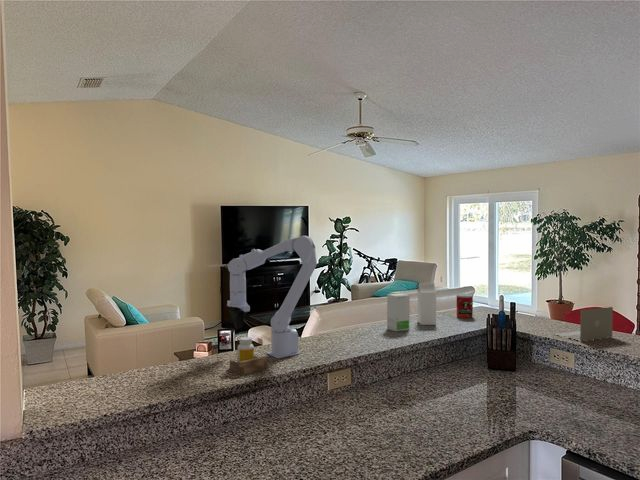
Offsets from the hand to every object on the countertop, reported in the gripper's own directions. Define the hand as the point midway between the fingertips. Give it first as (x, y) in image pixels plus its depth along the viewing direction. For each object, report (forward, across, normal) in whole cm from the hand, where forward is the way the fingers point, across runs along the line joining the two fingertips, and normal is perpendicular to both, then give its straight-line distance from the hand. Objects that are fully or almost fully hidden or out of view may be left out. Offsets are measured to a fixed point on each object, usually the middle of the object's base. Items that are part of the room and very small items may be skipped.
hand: (238, 328), depth 164 cm
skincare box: (+10, +9, +73) cm, 74 cm away
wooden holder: (+9, +16, -5) cm, 20 cm away
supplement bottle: (+10, +15, -5) cm, 19 cm away
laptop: (+10, +64, +124) cm, 140 cm away
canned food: (+10, +11, +118) cm, 119 cm away
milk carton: (+10, +9, +92) cm, 93 cm away
